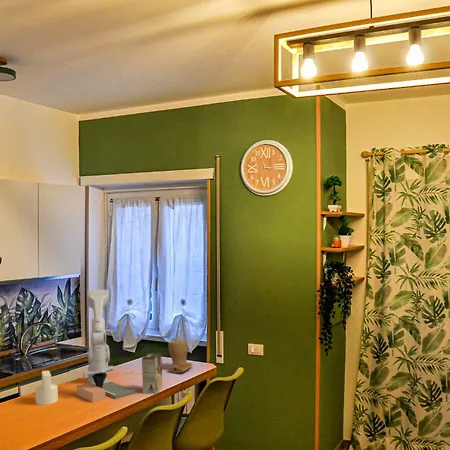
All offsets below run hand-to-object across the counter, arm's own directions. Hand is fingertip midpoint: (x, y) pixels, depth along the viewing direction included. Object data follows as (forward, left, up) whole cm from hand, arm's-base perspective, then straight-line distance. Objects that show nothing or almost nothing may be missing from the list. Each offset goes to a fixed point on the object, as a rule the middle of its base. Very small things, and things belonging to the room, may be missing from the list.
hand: (99, 390), depth 241 cm
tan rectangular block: (0, -4, -2) cm, 5 cm away
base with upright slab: (-9, -20, -2) cm, 22 cm away
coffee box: (+12, +20, -2) cm, 23 cm away
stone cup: (-7, +50, -2) cm, 51 cm away
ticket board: (0, +7, -2) cm, 7 cm away
